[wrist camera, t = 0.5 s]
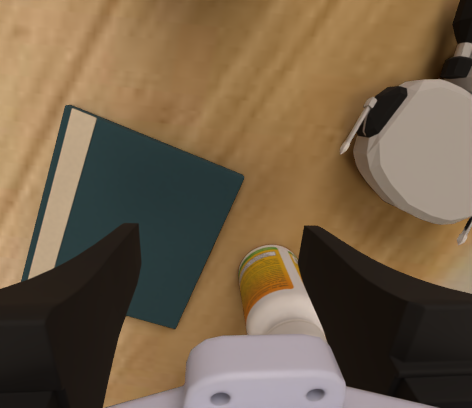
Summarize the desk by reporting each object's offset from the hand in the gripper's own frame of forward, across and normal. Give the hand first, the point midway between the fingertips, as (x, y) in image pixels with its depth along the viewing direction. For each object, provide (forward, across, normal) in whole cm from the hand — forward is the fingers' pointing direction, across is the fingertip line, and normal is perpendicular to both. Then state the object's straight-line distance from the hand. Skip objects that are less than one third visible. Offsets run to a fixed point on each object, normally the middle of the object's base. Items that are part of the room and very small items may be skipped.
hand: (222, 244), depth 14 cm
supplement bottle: (+10, -5, +9) cm, 15 cm away
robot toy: (+11, -16, -5) cm, 21 cm away
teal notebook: (+11, +7, +5) cm, 14 cm away
